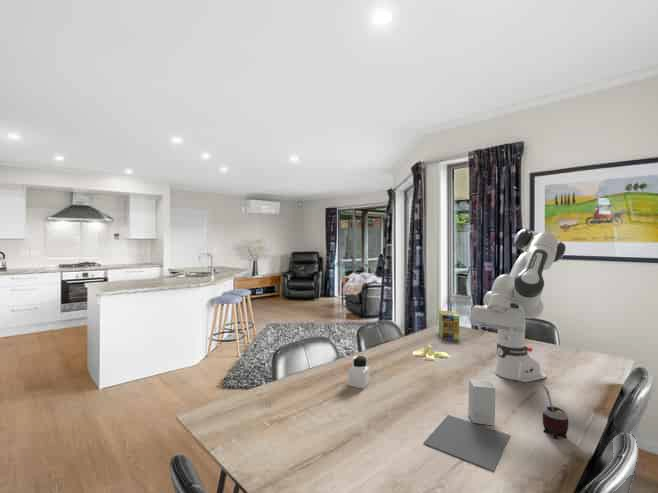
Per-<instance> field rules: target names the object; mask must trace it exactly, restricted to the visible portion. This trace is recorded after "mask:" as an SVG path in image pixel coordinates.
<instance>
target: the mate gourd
mask: <svg viewBox="0 0 658 493" xmlns="http://www.w3.org/2000/svg"><path fill="white" fill-rule="evenodd" d="M539 383H540V384H541V386H542V387H543V389H544V390H545V393H546V395H547V398H548V402H549V404H550V406H547V407H544V409H543V411H542V426H543V433H545V434H546V433H547V434H550V435H553V439H554V440H557V439H558V437H561V438H565V439H567V438H568V436H567V433H568V431H569V418H568V414H567V413H566V411H565V410H563V409H562V408H559V407H557V406H553V403H552V399H551V396H550V392H549V390H548V388H547V387H546V386H545V385H544V383H543V382H542V381H540V382H539Z"/></svg>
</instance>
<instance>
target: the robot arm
mask: <svg viewBox="0 0 658 493" xmlns="http://www.w3.org/2000/svg"><path fill="white" fill-rule="evenodd" d="M513 241H514V242H513V244H514V247H516V248H517V249H519V250H522V251H524V252H523V253H521V254H520V255H519V256H518V258H517V259H516V260H515V262H514V264H513V266H512V268H511V271H510V272H509V274H501V275H499V276H497V277H496V278H495V280H494V281H493V284H492V286H491V290H490V291H487V292H486V293H485V295H484V297H483V305H479V304H477V305H474V306H472V308H471V313H470V315H469V323H470V324H471V325H472V326H477V329H478V335H479V336H484V333H485V331H484V329H482V328H483V327H484V328H489V329H497V342H496V353H497V355H496V361H495V366H494V368H493V373H494V374H495V375H497V376H499V377H500V378H501V377H502V378H504V379H506V380H507V379H508V380H514V381H518V382H521V383H528V382H532V381H539V380H542V379H546V378H547V375H546V373H544V372H543V371H541V370H542V369H541V366H540V363H539V362H538V361H537V360H536V359H535V358H534V357H532V356H531V355H530V354H529V353H532V352H533V348H532V347H530V346H526V345H525V334H526V319H536V318H539V317H540V316H541V315H542V314H543V310H544V304H543V302H542V299H541V298H542V297H541V296H542V293H543V292H542V291H543V289H544V287H545V281H544V277H543V272H544V271H545V270H549V269H550V268H551V266H553V264H554V263H555V262H558V261H560V260H561V259H562V258H563V256H564V255H565V254H566V249H567V247H566V245H565V244H564V243H563V242H561V241H560V240H557V237H556V236H555V235H553V234H552V233H549V232H537V231H534V230H531V229H528V228H523V229H520V231H518V232H517V233H516V235H515V236H514V240H513Z"/></svg>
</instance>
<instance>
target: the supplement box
mask: <svg viewBox="0 0 658 493" xmlns="http://www.w3.org/2000/svg"><path fill="white" fill-rule="evenodd" d="M496 390H497V389H496V386H494V385H493V383H492V382H491V381H490V380H484V379H472V378H469V379H468V408H467V409H468V410H467V411H468V412H467V413H468V417H469V418H470V420H471V422H472V423H475V424H478V425H487V426H488V425H489V426H495V425H496Z"/></svg>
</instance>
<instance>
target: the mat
mask: <svg viewBox="0 0 658 493" xmlns="http://www.w3.org/2000/svg"><path fill="white" fill-rule="evenodd" d="M510 437H511V434H508V433H505V432H502V431H499V430H496V429H493V428H490V427H486V426H484V425H482V424H479V423H473V422H472V421H468V420H466V419H463V418H459V417H456V416H453V415H450V414H447V415H446V417H445V418H443V420H442V421H441V422H440V423H439V424H438V426H436V428H435V429H434V430H433V431H432V432H431V433H430V435H429V436H428V437H427V438H426V439H425V440H424V442H423V444H422V445H425V446H428V447H430V448H432V447H433V448H432V449H435V450H437V449H438V450H437V451H440V452H442V451H443V452H442V453H445V454H447V453H448V455H450V454H451V455H450V456H452V455H453V456H452V457H455V458H458V459H460V460H463V461H465V462H468V463H470V464H473V465H476V466H478V467H479V468H483V469H486V470H488V471H491V472H492V471H493V472H492V473H494V472H495V470H496V468H495V467H497V465H498V463H499V461H500V459H501V457H502V454H503V452H504V450H505V448H506V446H507V444H508V442H509V440H510ZM507 441H508V442H507ZM494 469H495V470H494Z"/></svg>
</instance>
